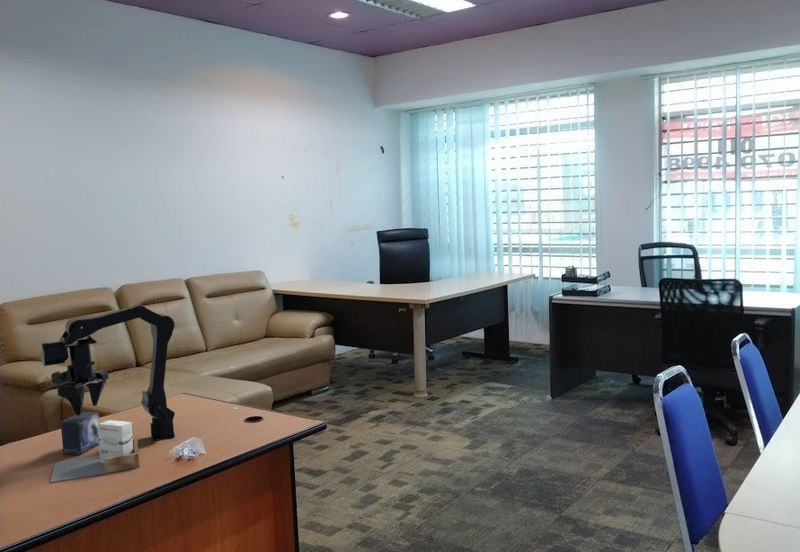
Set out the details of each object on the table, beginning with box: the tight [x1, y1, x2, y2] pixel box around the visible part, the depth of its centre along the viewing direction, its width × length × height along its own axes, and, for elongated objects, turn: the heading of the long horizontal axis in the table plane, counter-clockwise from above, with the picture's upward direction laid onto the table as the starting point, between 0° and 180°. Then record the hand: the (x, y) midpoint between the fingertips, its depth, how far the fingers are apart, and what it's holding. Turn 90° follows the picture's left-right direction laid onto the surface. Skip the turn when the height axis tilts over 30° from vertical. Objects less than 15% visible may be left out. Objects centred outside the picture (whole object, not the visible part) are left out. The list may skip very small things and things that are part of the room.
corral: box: [104, 437, 140, 474], centre depth 209 cm, size 9×15×4 cm, turn 21°
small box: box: [60, 411, 100, 456], centre depth 221 cm, size 11×6×10 cm, turn 168°
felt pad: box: [49, 455, 107, 484], centre depth 205 cm, size 14×16×1 cm
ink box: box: [98, 419, 134, 463], centre depth 208 cm, size 9×5×12 cm, turn 71°
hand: (86, 410), depth 216 cm, fingers open, 9 cm apart
